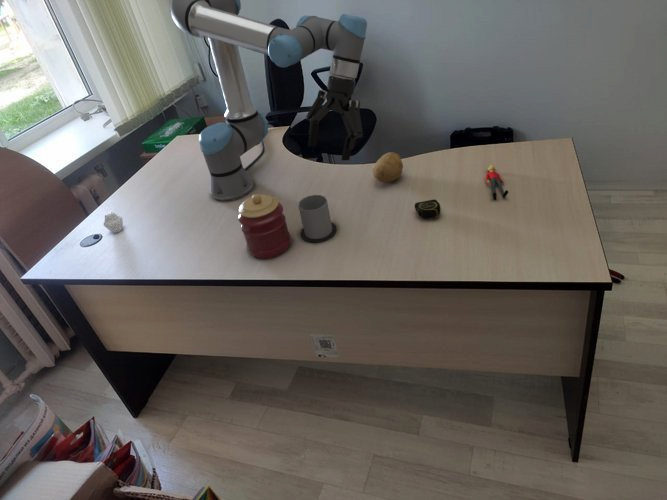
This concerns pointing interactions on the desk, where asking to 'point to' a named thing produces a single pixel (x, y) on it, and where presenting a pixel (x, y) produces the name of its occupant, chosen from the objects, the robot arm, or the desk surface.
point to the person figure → (495, 181)
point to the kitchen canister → (264, 226)
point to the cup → (315, 216)
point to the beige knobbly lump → (113, 222)
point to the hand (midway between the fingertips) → (327, 153)
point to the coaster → (320, 238)
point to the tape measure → (428, 209)
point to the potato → (388, 167)
